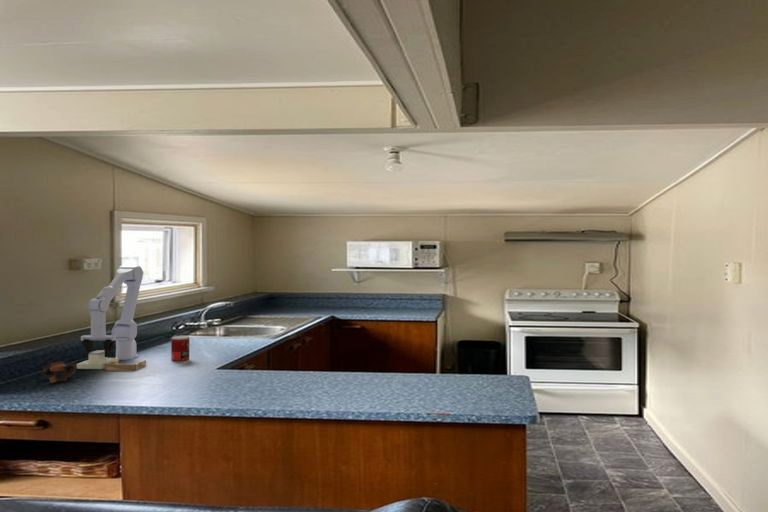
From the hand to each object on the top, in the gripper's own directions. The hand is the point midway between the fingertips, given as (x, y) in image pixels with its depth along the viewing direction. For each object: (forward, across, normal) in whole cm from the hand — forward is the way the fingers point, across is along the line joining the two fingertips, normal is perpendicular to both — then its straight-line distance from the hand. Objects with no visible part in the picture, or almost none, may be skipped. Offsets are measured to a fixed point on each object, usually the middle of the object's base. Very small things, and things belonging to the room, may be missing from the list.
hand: (98, 356), depth 225 cm
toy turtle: (+4, -1, -24) cm, 24 cm away
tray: (+4, 0, 0) cm, 4 cm away
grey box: (+4, 0, 0) cm, 4 cm away
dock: (+4, +14, -4) cm, 16 cm away
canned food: (+5, +30, +14) cm, 34 cm away
